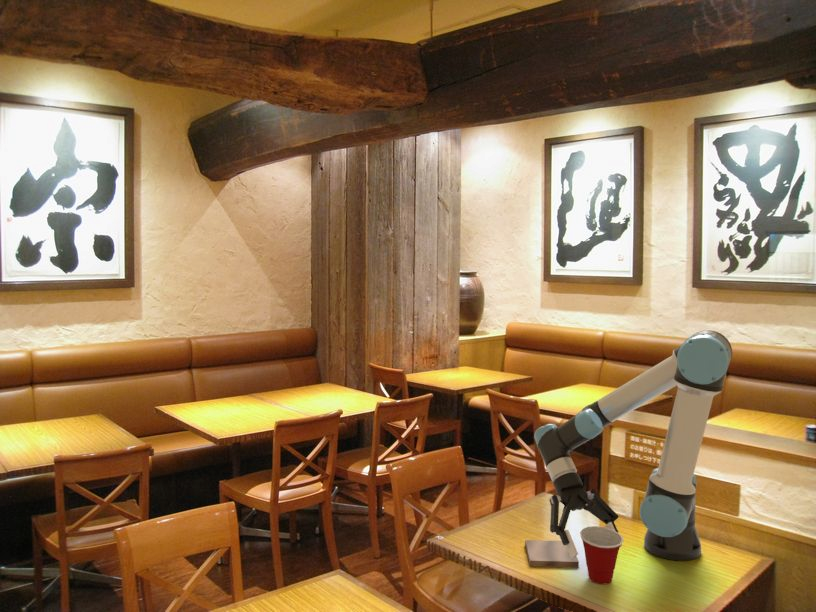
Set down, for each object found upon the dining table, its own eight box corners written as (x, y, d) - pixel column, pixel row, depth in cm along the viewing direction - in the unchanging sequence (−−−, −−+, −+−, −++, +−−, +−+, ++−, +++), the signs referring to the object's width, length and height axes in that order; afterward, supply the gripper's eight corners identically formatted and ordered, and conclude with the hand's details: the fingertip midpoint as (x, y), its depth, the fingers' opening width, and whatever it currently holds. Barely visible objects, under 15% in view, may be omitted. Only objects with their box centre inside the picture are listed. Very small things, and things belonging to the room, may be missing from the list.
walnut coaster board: (570, 546, 195) (570, 541, 195) (578, 567, 182) (578, 561, 182) (525, 545, 196) (525, 540, 196) (530, 566, 183) (530, 560, 183)
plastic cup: (597, 593, 168) (598, 547, 167) (570, 574, 178) (571, 530, 177) (631, 584, 172) (632, 539, 171) (603, 566, 182) (604, 523, 181)
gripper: (596, 478, 195) (629, 549, 182) (520, 489, 186) (549, 565, 173) (608, 465, 189) (643, 538, 177) (531, 476, 181) (561, 554, 168)
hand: (597, 552), depth 175 cm, fingers open, 13 cm apart
